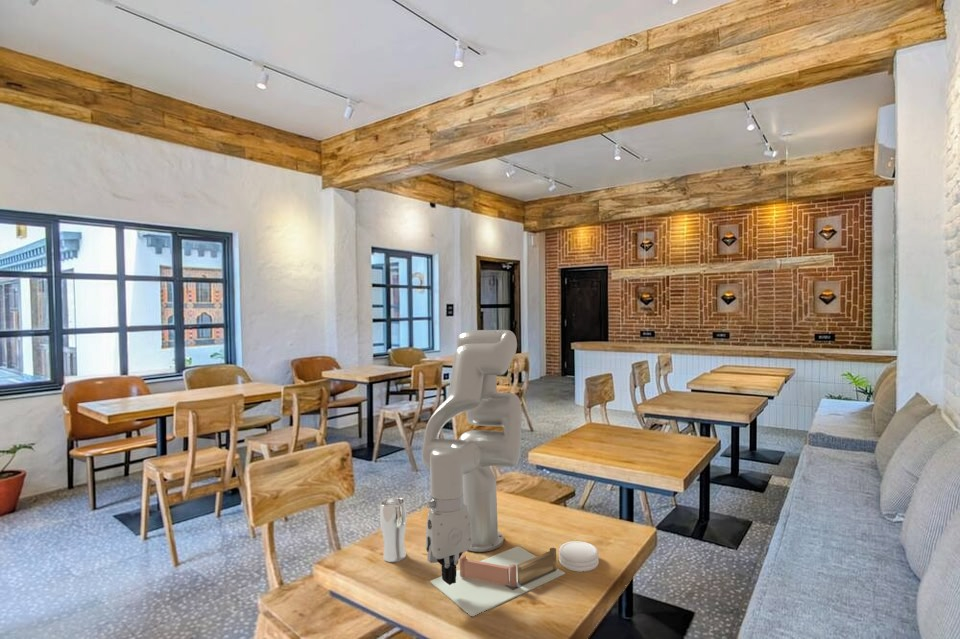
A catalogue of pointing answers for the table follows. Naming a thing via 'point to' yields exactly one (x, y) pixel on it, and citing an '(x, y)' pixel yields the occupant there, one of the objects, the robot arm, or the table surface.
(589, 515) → the table surface
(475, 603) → the board
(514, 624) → the table surface
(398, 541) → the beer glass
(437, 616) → the table surface
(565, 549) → the white short round cylinder
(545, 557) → the fixed panel
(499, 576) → the panel
